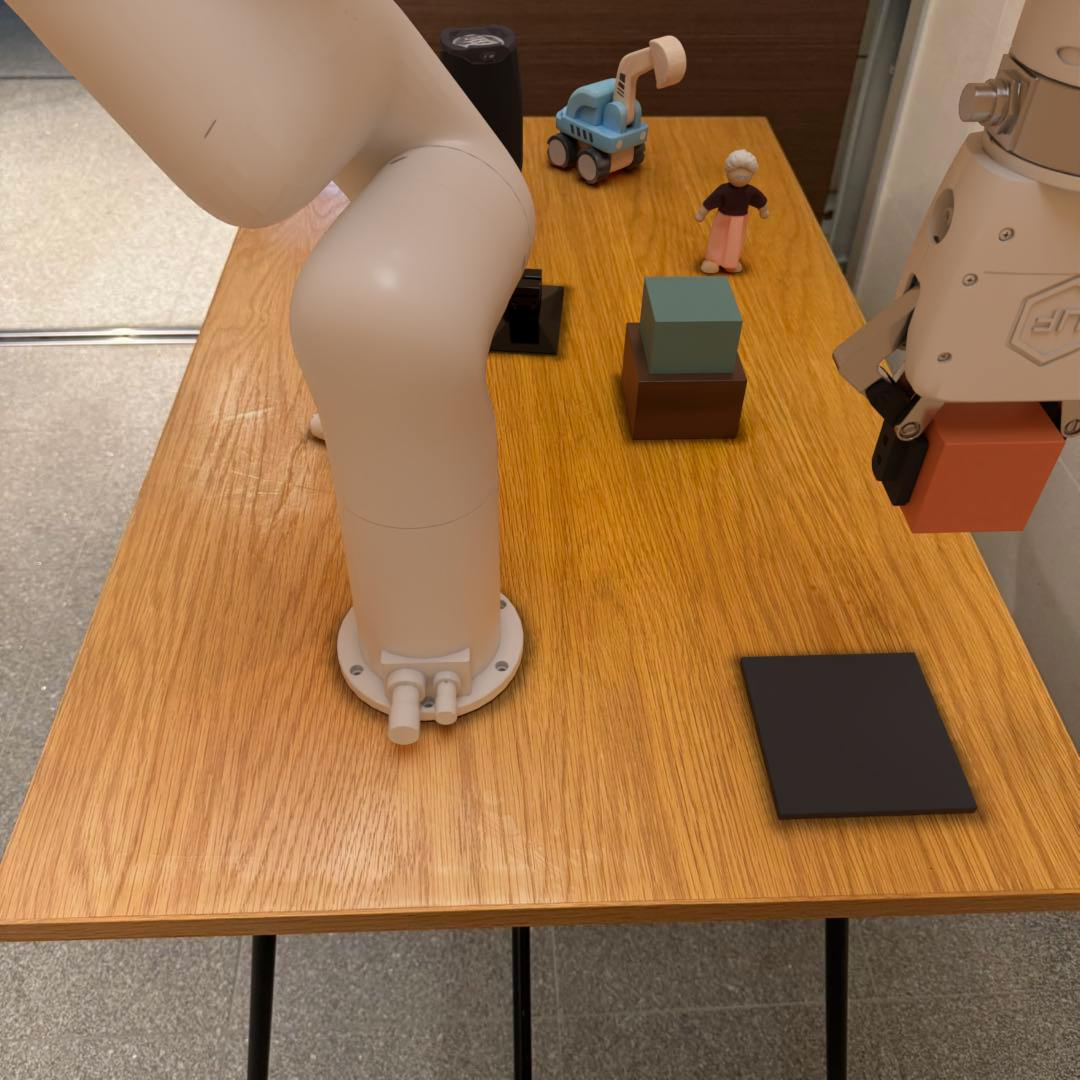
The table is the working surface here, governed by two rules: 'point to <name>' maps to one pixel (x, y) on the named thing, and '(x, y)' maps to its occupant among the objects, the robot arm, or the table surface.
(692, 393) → the base block
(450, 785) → the table surface
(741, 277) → the table surface
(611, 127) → the toy excavator
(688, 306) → the middle block
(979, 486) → the orange-red cube
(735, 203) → the grandmother figurine
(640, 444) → the table surface
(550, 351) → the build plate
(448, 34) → the portable speaker
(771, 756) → the mat
